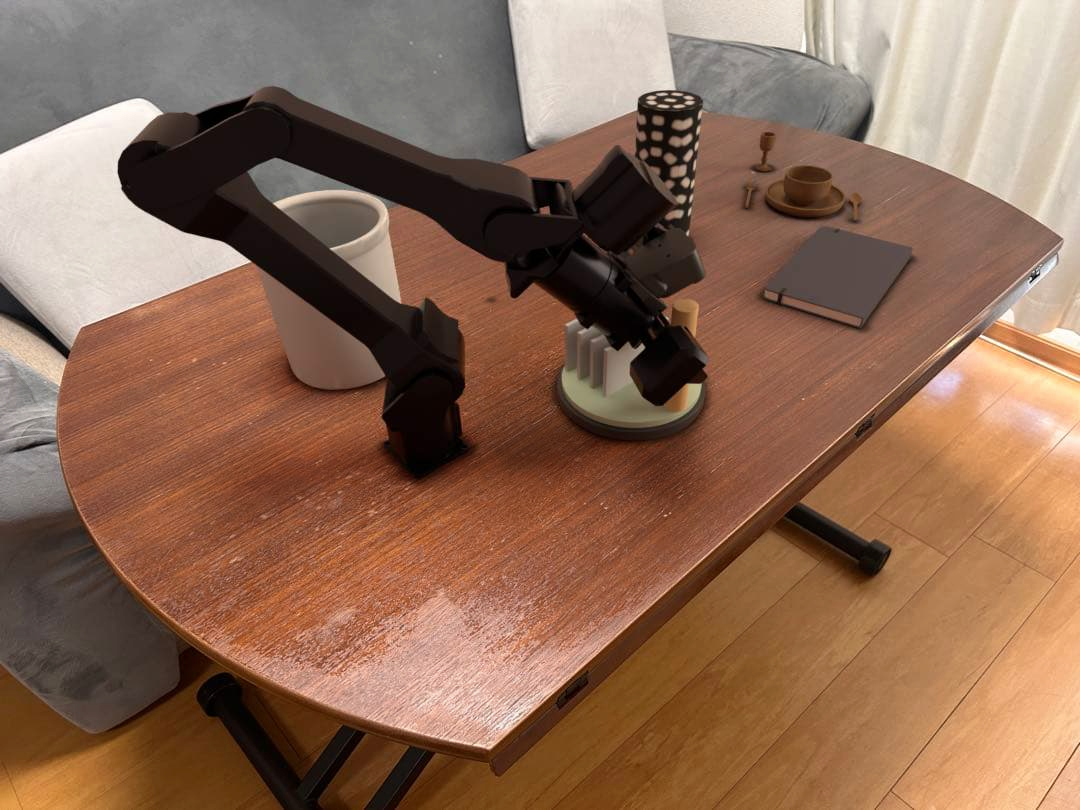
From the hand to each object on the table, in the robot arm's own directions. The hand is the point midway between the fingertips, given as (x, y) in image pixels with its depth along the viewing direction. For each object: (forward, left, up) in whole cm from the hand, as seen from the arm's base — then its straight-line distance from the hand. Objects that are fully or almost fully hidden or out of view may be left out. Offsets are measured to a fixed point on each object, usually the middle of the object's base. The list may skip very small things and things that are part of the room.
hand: (692, 362), depth 75 cm
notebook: (+37, +6, -7) cm, 38 cm away
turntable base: (-1, +7, -7) cm, 10 cm away
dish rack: (-1, +7, -6) cm, 9 cm away
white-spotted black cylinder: (+27, +29, -7) cm, 40 cm away
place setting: (+56, +25, -7) cm, 62 cm away
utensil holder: (-21, +34, -7) cm, 41 cm away
